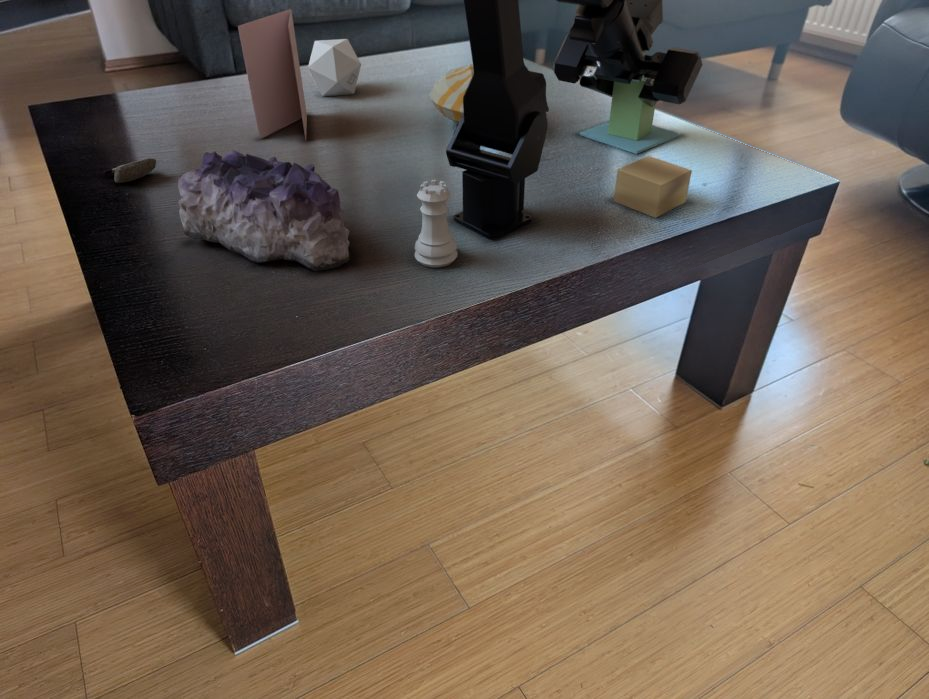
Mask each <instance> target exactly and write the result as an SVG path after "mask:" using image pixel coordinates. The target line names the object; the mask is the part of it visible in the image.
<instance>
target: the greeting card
mask: <svg viewBox="0 0 929 699" xmlns="http://www.w3.org/2000/svg"><path fill="white" fill-rule="evenodd" d="M237 29H238V35H239V40H240V44H241V50H242V55H243V62H244V65H245V70H246V75H247V81H248V86H249V90H250V96H251V101H252V102H251V103H252V106H253V111H254V117H255V122H256V127H257V133H258V137H259V140H262V139H263V138H265V137H267V136H269V135H271V134H273V133H274V132H277V131H278V130H281V129H282V128H284V127H286V126H288V125H291V124H292V123H294V122H296V121H298V120H300V119H302V126H303V131H304V132H303V133H304V139H305V140H307V127H308V126H307V125H308V122H307V121H308V113H307V106H306V100H305V94H304V93H305V92H304V86H303V85H304V84H303V79H302V73H301V66H300V65H301V64H300V59H299V52H298V46H297V39H296V33H295V24H294V19H293V12H292V8H289V9H287V10H283V11H280V12H277V13H274V14H271V15H268V16H265V17H262V18H258V19H255V20H252V21H249V22H246V23H243V24H240V25H237Z"/></svg>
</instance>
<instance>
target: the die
mask: <svg viewBox="0 0 929 699" xmlns="http://www.w3.org/2000/svg"><path fill="white" fill-rule="evenodd" d="M361 67H362V63H361V61H360V59H359V57H358V55H357V54H356V52H355V49H354V48H353V46H352V44H351V43H350V41H349V39H348V38H338V39H337V38H336V39H322V40H321V39H320V40H314V42H313V46H312V49H311V54H310V58H309V61H308V65H307V70H308V73H309V74H310V76H311V78H312V80H313V83H314V84H315V86H316V88H317V90H318V92H319V93H320V95H321V97H333V96H349V95H355V92H356V88H357V83H358V80H359V75H360V71H361Z"/></svg>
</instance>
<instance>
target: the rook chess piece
mask: <svg viewBox="0 0 929 699" xmlns="http://www.w3.org/2000/svg"><path fill="white" fill-rule="evenodd" d="M437 182H438V181H437V179H431V184H429V181H427V180H425V181H423V182H422V183H421V184H420V186H419V187H420V188H419V191H418V192H417V193H416V197H417V198H418V199H419V201H420V202H421V206H420V208H419V211H420V213H421V215H422V222H421V230H420V233H419V234H418V239H416V240H415V244H414V258H415V260H416V261H417V262H418V263H419V264H420V265H422V266H424V267H428V268H433V269H434V268H438V269H439V268H443V267H447V266H450V265H451V264H452V263H453V262H454V261H455V260H456V258H458V251H457V246H458V245H457V241H456V240H455V238H454V237H453V234H452V233H451V231H450V228H449V222H448V217H447V215H448V214H447V213H448V212H449V208H450V207H449V206H448V205H447V201H448V200H449V199H450V198H451V192H450V190H448V188H447V183H446V182H445V181H443V180H440V181H439V182H438V184H437Z"/></svg>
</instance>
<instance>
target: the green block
mask: <svg viewBox="0 0 929 699" xmlns="http://www.w3.org/2000/svg"><path fill="white" fill-rule="evenodd" d="M643 77H644V75H643ZM644 83H645V80H644V78H642V80H641V81H640V82H638V81H631V83H630V84H625V83H620V82H615V81H614V86H613V94H612V97H611V103H610V112H609V119H608V120H609V121H608V122H609V127H608V134H611V135H615V136H619V137H623V138H628V139H632V140H636V141H637V140H639V139H640V138H642V137H643V136H645V135H646V134H648V133H650V132H651V130H652V125H653V124H654V123H653V122H654V117H655V111H656V106H655V107H651V106H649V105H647V104H646V103H645V102H643V101H642V100H641V99H639V98H638V96H639V94H640V92H641V90H642V88H643V86H644Z"/></svg>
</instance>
